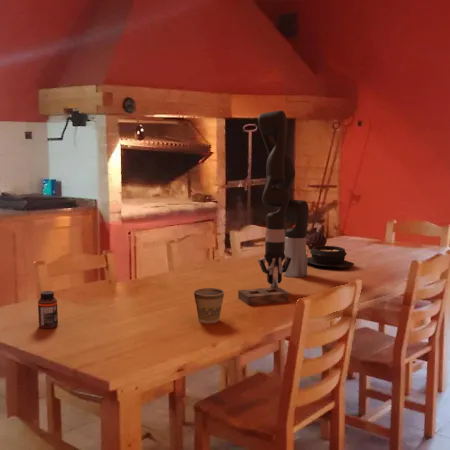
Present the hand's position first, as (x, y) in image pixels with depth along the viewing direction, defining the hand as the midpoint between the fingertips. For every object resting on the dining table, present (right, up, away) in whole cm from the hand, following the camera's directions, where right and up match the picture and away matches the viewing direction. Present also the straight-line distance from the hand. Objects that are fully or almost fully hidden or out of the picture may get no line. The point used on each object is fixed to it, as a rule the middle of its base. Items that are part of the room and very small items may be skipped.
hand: (274, 283), depth 249 cm
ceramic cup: (-24, -9, -36) cm, 44 cm away
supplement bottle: (-76, -10, -44) cm, 89 cm away
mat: (0, -4, +1) cm, 4 cm away
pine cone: (+29, +9, +87) cm, 92 cm away
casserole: (+29, +3, +50) cm, 58 cm away
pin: (0, -3, 0) cm, 3 cm away
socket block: (-5, -6, -12) cm, 14 cm away
